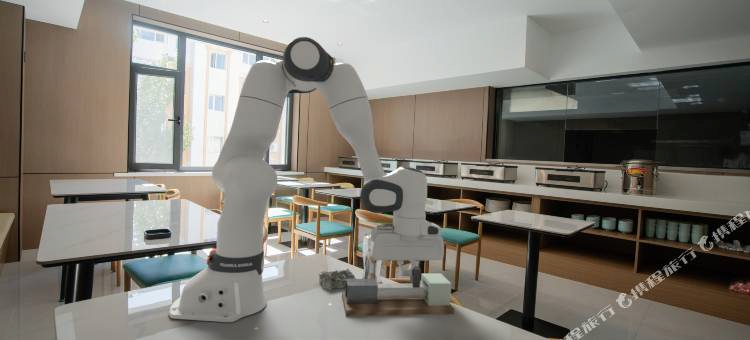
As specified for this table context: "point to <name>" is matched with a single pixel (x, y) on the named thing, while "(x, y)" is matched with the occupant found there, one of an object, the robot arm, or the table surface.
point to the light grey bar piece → (404, 288)
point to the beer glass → (370, 261)
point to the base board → (396, 307)
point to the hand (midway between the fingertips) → (405, 275)
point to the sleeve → (361, 291)
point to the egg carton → (335, 278)
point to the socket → (437, 289)
